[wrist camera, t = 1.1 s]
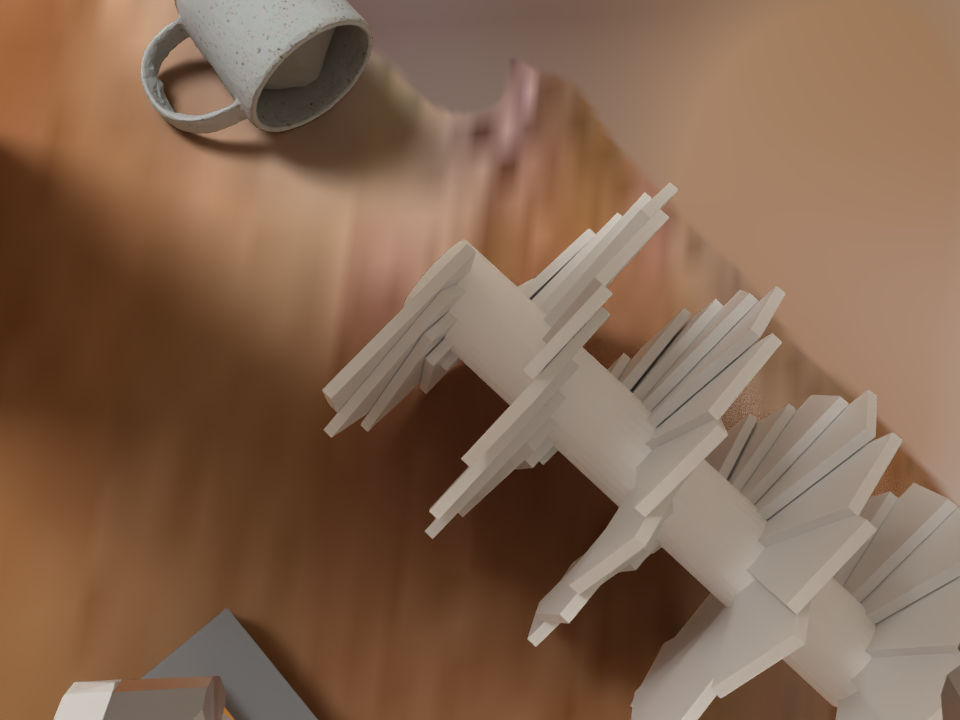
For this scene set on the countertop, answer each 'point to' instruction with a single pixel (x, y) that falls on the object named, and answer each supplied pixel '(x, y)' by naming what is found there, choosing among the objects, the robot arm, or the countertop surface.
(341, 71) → the ceramic mug
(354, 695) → the countertop surface
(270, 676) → the board
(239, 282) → the countertop surface
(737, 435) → the spiral staircase
